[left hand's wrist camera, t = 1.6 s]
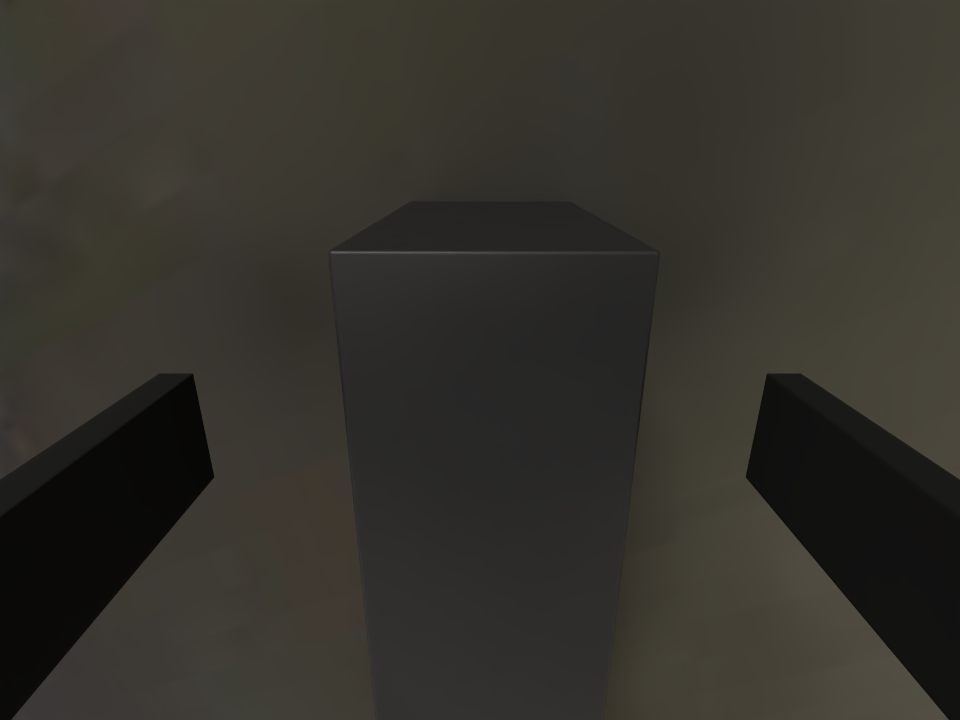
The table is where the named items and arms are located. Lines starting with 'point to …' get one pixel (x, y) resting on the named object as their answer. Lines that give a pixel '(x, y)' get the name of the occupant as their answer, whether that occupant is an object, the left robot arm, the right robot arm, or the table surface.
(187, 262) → the table surface
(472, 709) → the box
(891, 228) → the table surface
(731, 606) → the table surface
